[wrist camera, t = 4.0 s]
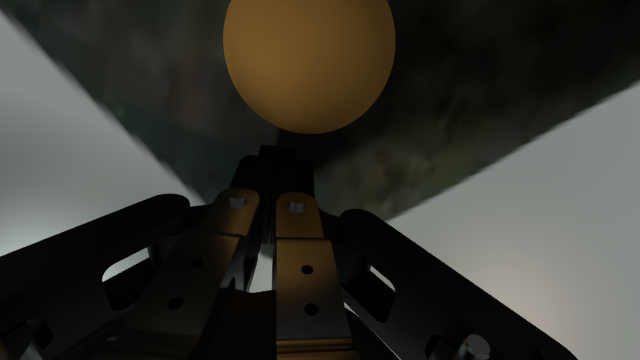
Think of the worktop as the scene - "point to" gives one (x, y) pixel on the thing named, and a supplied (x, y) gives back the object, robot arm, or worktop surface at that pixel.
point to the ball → (309, 59)
